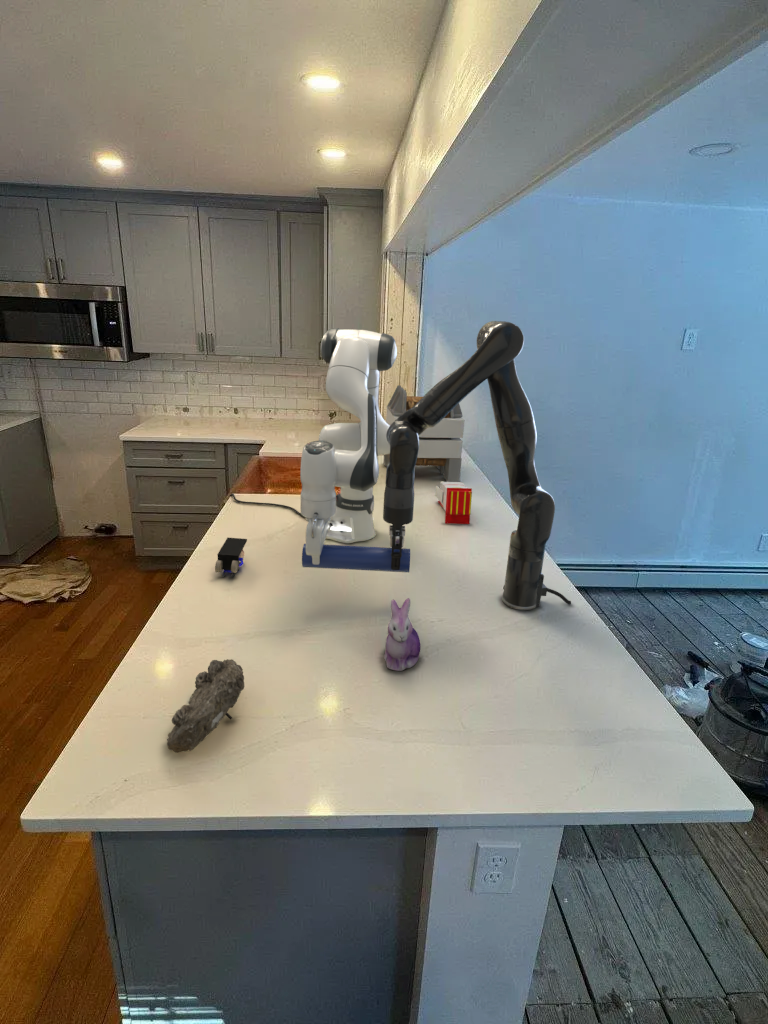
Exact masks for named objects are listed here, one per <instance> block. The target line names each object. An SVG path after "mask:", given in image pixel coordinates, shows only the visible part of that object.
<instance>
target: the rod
mask: <svg viewBox="0 0 768 1024" xmlns="http://www.w3.org/2000/svg"><path fill="white" fill-rule="evenodd" d="M301 551H302V552H301V567H302V568H308V569H309V568H311V569H329V570H330V569H331V570H353V571H372V572H394V573H410V569H411V548H403V547H402V553H401V554H402V556H401V557H400V569H399V570H392V569H391V560H392V557H391V553H392V548H391V547H385V546H384V547H383V546H382V547H381V546H363V545H362V546H361V545H344V544H343V545H342V544H324V545H323V548H322V552H321V555H320V563H319V564H318V565H314V564H313V563H312V556H311V555H307V554H306V543H303V545H302V550H301ZM394 552H399V550H397V549H394Z"/></svg>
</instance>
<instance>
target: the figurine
mask: <svg viewBox="0 0 768 1024" xmlns="http://www.w3.org/2000/svg"><path fill="white" fill-rule="evenodd" d="M411 603H412V601H411V598H410V597H408V598H406V599H405V600H404V602H403V604H402V605H401V607H399V604H398V603H397V600H396V599H394V598H393V599H391V601H390V615H391V616H390V619H389V621H388V623H387V632H388V634H387V636H386V639H385V641H386V642H385V650H384V651H385V652H384V656H383V659H384V661H385V664H386V667H387V669H388V670H393V671H399V672H400V671H404V670H406V669H411V668H413V667H414V666H415V665H416V664H417V663H418V661H419V659H420V653H421V649H422V644H421V639H420V636H419V633H418V632H417V630H416V629H415V627H414V626H413V623H412V621H411V619H410V617H409V614H410V613H409V612H410V609H411Z"/></svg>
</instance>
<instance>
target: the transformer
mask: <svg viewBox="0 0 768 1024" xmlns="http://www.w3.org/2000/svg"><path fill="white" fill-rule="evenodd" d="M407 394H408V393H407V390H406V389H404V388H403V387H402V385H399V384H398V385H397V386H396V388H395V390H394V392H393V394H392V395H391V398H390V400H389V402H388V404H387V405H386V413H385V414H386V415H385V421H386V422H387V423H388V424H389V425H391V424H392V423H393V422H394V421H395V420H396V419H397V418H399V417H400V416H401V415H402V414H404V413H405V412H406V411H408V410H409V409H411V408H412V407H414V406H415V405H416V404H417V403H418V401H419V400H421V398H422V397H423V396H415V395H414V396H413V395H412V396H411V395H407ZM464 429H465V419H464V418H463V411H462V408H461V405H460V403H458V404H457V405H456V406H455V407H454V408H453V409H452V410H451V411H450V412H449V413H448V414H447V415H446V416H445V417H444V418H443V419H442V420H440V422H439V423H438V424H437V425H435V426H434V427H431V428H427V429H426V430H425V431H423V432H422V433H421V434H420V435H419V451H418V456H417V461H416V465H415V467H417V466H418V467H436V468H437V470H438V469H439V473H440V474H441V475H443V478H444V479H445V482H461V472H462V461H463V460H462V453H463V442H464V441H463V440H462V439H463V438H464V431H465V430H464ZM389 459H390V454H386V455H383V466H384V467H387V465H388V464H389Z"/></svg>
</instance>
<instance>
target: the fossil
mask: <svg viewBox="0 0 768 1024" xmlns="http://www.w3.org/2000/svg"><path fill="white" fill-rule="evenodd" d="M243 670H244V669H243V667H242V665H240V664H237V662H236V661H235V660H234V659H232V658H231V659H227V658H226V659H224V660H223V661H222V660H217V659H212V660H211V661H210V663H209V665H208V666H207V671H201V672H199V673H198V674H197V675H196V676H195V680H194V684H195V685H194V687H195V689H194V690H193V693H192V694H191V697H190V698H189V700H188V704H184V705H182V706H181V707H180V709H177V710H176V711H175V713H174V715H173V716H172V718H171V723H172V724H173V727H172V730H171V731H170V732H168V734H167V738H166V741H167V742H166V745H167V749H168V750H169V751H173V752H174V753H176V754H178V753H182V752H188V751H189V752H192V751H193V750H195V748H196V747H197V746H199V744H200V743H201V742H203V741H204V740H205V739H206V738H207V737H208V736H209V735H210V734H211V733H212V732H214V730H215V729H217V727H218V726H219V724H220V722H221V721H222V720H223V719H224V718H225V716H226V717H227V719H229V720H233V717H232V715H230V714H229V710H230V709H231V708H234V706H235V704H236V703H237V702H238V699H239V697H240V695H241V693H242V691H243V690H245V689H244V688H245V675H244V671H243Z"/></svg>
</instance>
